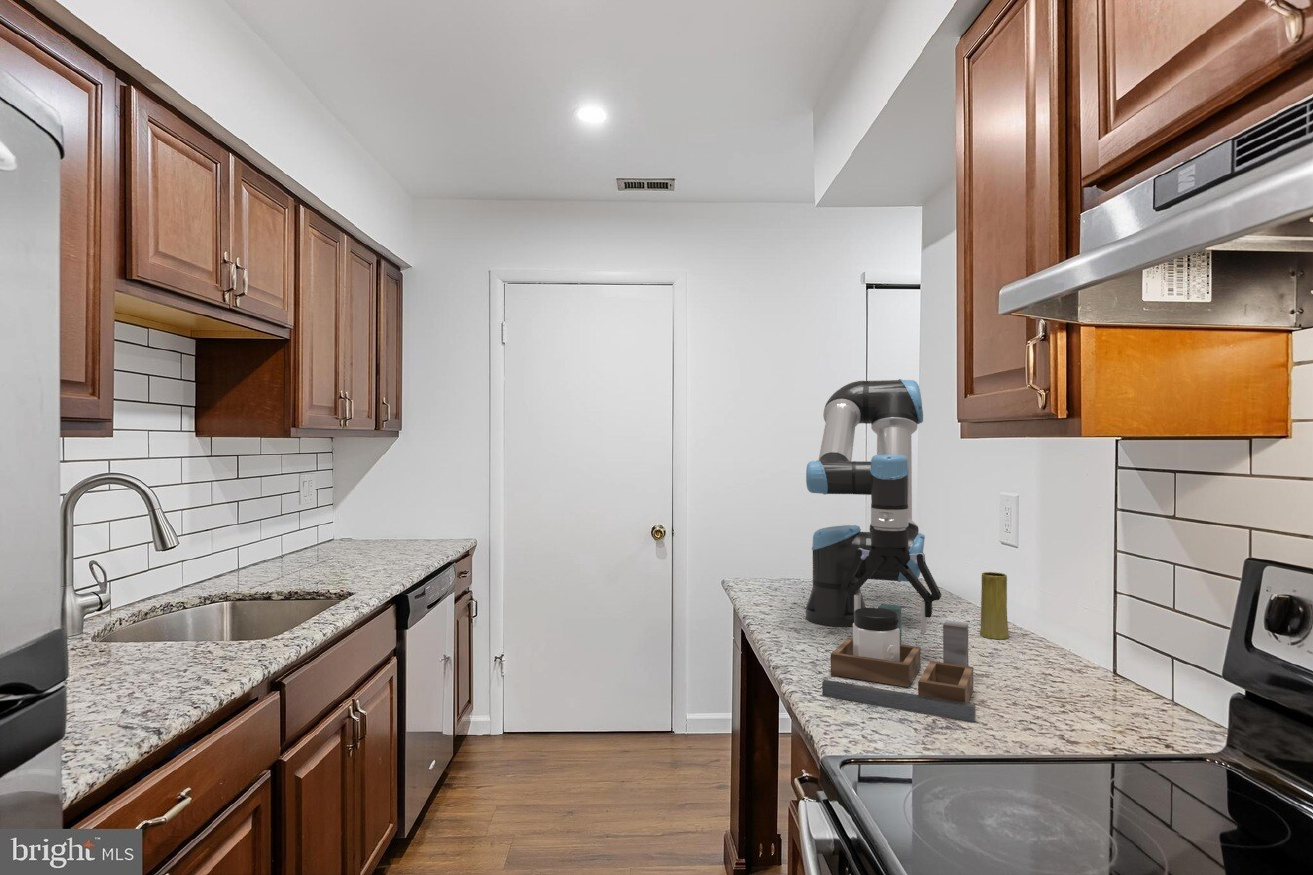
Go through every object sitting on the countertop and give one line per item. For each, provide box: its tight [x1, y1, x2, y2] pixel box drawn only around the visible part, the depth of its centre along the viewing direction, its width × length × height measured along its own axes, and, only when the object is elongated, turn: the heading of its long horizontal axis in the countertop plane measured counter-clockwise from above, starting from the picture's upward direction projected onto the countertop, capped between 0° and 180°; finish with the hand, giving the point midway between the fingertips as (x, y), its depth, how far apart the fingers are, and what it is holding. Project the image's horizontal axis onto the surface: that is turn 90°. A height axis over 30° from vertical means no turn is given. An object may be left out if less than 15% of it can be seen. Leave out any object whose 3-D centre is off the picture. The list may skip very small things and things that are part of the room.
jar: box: [852, 607, 900, 662], centre depth 141 cm, size 9×8×12 cm
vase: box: [979, 571, 1010, 640], centre depth 168 cm, size 6×6×14 cm
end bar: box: [821, 679, 977, 723], centre depth 124 cm, size 2×25×2 cm, turn 61°
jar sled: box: [830, 603, 922, 688], centre depth 146 cm, size 21×14×10 cm
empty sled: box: [917, 619, 974, 703], centre depth 132 cm, size 21×7×10 cm, turn 151°
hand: (889, 628), depth 154 cm, fingers open, 13 cm apart
